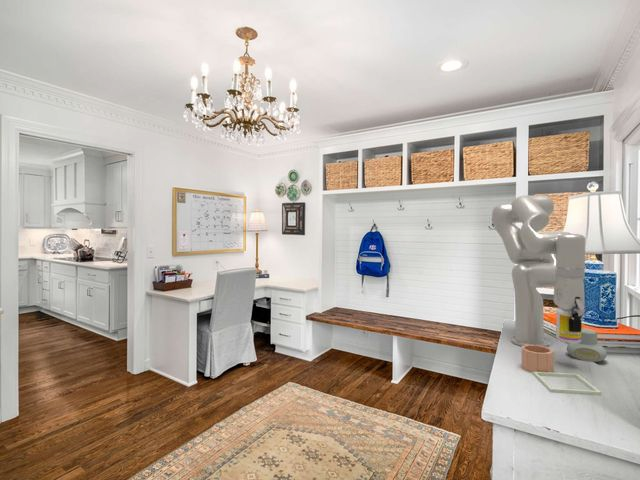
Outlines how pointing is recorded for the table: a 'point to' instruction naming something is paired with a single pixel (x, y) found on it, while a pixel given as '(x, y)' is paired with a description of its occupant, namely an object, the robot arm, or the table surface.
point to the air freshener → (587, 347)
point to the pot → (537, 358)
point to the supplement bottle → (566, 327)
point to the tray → (589, 392)
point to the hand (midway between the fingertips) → (568, 327)
